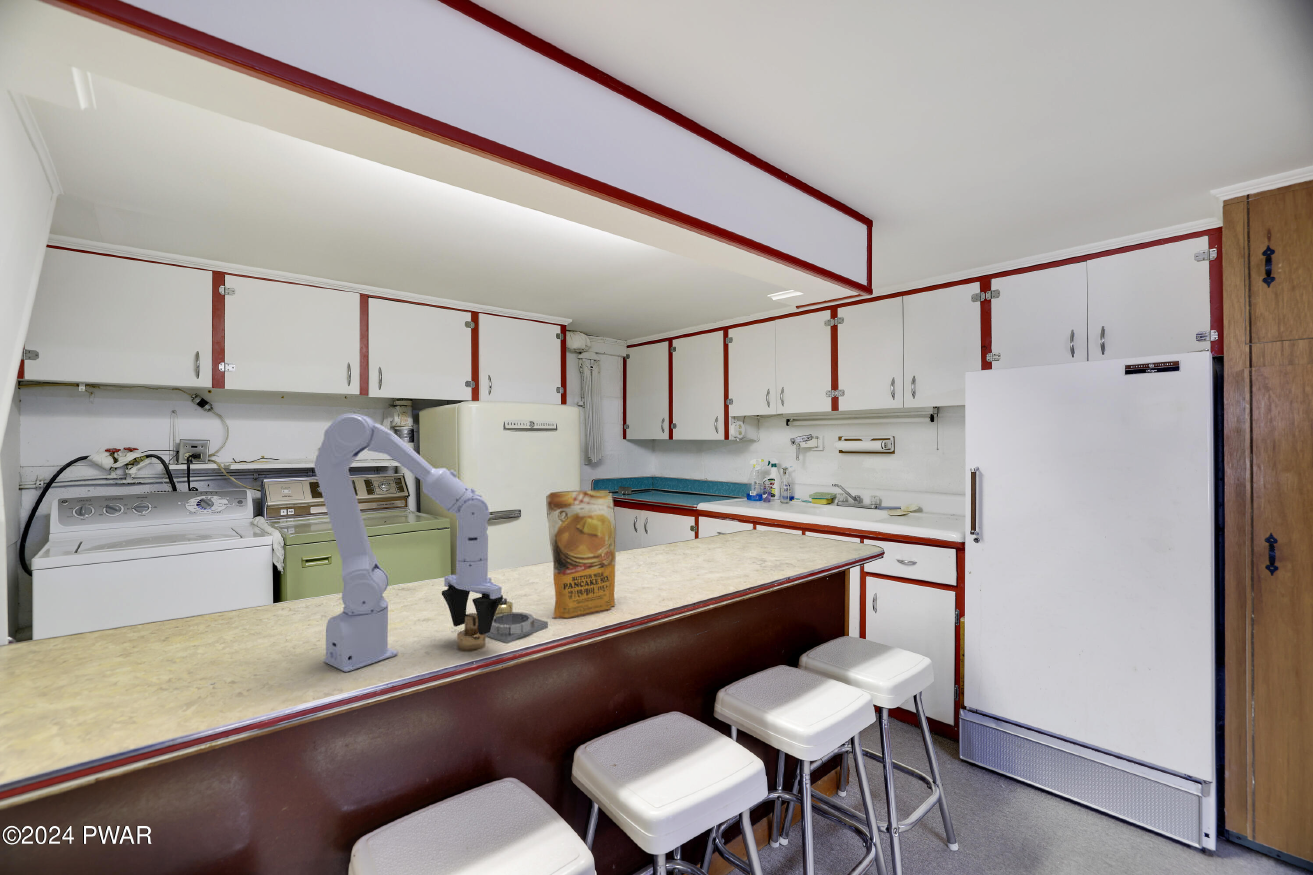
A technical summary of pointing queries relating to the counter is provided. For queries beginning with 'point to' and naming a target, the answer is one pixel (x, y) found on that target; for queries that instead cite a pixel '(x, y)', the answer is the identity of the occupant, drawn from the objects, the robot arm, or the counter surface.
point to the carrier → (513, 623)
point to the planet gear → (470, 635)
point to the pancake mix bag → (582, 551)
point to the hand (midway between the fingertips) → (471, 629)
